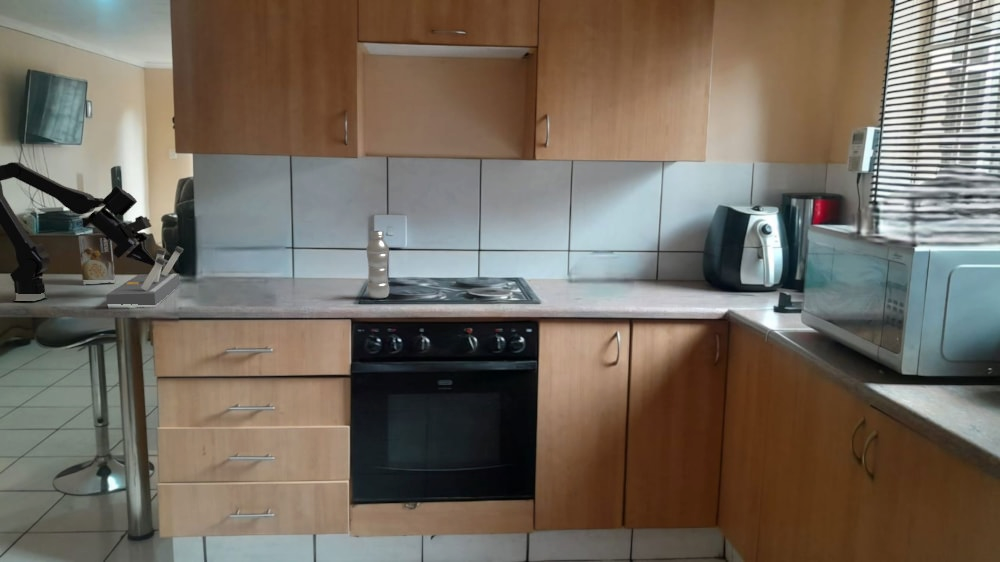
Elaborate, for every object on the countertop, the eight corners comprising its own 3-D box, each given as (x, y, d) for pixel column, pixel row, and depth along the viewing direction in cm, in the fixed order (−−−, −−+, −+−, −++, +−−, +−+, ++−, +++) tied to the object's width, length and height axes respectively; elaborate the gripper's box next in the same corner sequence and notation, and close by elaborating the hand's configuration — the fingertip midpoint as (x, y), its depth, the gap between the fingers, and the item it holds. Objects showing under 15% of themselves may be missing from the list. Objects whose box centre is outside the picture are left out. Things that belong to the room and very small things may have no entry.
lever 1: (139, 287, 198) (157, 257, 198) (142, 285, 201) (160, 256, 201) (146, 291, 199) (164, 261, 199) (149, 289, 202) (166, 260, 201)
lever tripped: (150, 281, 211) (157, 249, 210) (152, 279, 213) (159, 248, 212) (157, 282, 211) (164, 251, 210) (159, 281, 214) (166, 249, 213)
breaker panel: (107, 309, 194) (106, 293, 194) (139, 287, 228) (138, 273, 227) (155, 307, 197) (154, 292, 196) (179, 286, 231) (179, 272, 230)
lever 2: (160, 273, 223) (176, 247, 223) (162, 272, 226) (177, 246, 226) (166, 276, 224) (182, 250, 224) (168, 275, 226) (183, 249, 226)
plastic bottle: (369, 296, 217) (367, 230, 214) (391, 296, 217) (390, 230, 214) (364, 300, 211) (363, 232, 207) (387, 300, 210) (386, 232, 207)
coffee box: (116, 281, 239) (112, 232, 236) (114, 284, 233) (110, 234, 231) (84, 282, 235) (80, 233, 233) (82, 285, 230) (77, 235, 227)
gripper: (122, 209, 199) (168, 248, 203) (139, 205, 217) (181, 241, 221) (93, 238, 198) (140, 276, 203) (112, 231, 216) (154, 267, 220)
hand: (155, 264), depth 212 cm, fingers closed, pressing on lever tripped
